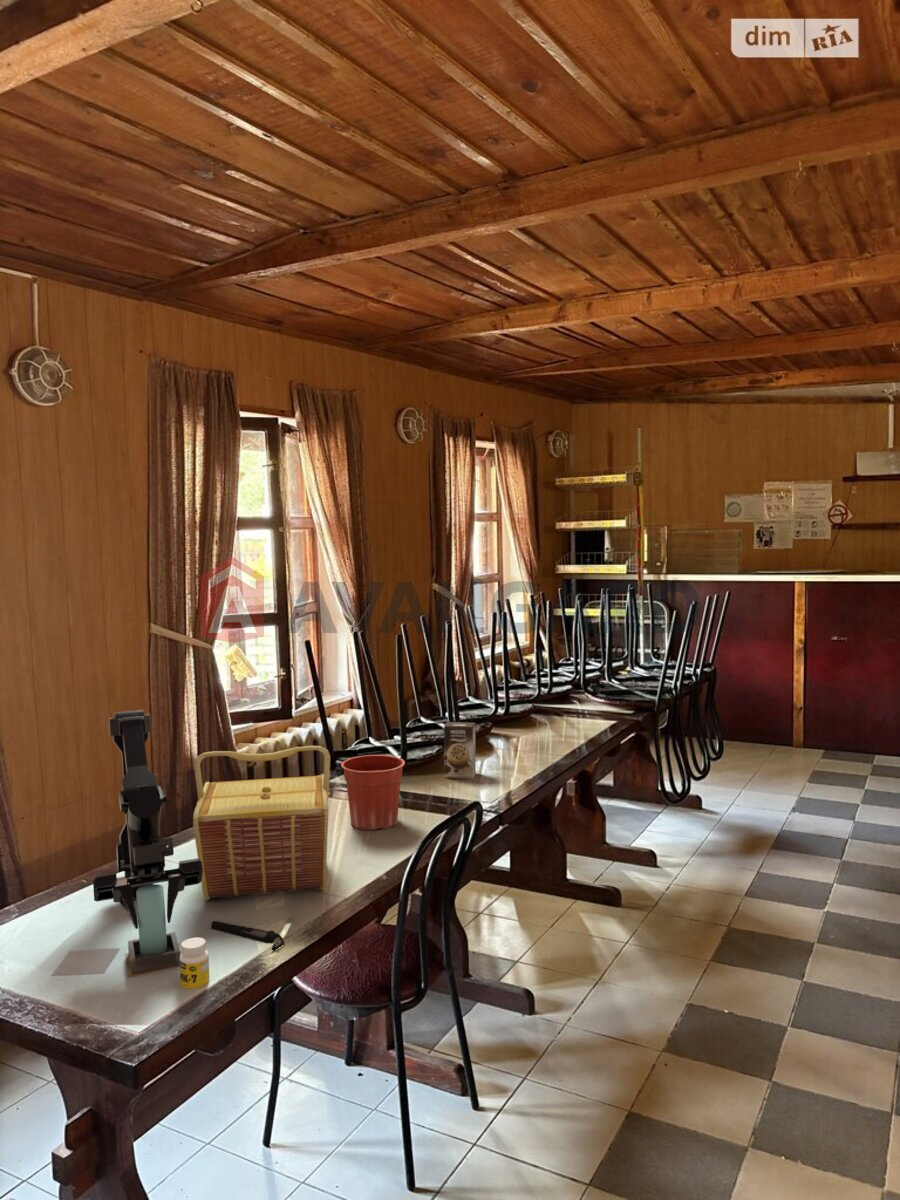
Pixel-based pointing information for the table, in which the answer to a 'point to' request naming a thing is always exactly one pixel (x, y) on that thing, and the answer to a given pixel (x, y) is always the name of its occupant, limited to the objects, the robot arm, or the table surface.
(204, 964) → the supplement bottle
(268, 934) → the electric trimmer
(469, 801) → the table surface
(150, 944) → the peg
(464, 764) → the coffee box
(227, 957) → the table surface
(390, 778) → the flower pot
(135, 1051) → the table surface
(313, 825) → the picnic basket
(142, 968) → the socket
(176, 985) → the table surface
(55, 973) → the pad
